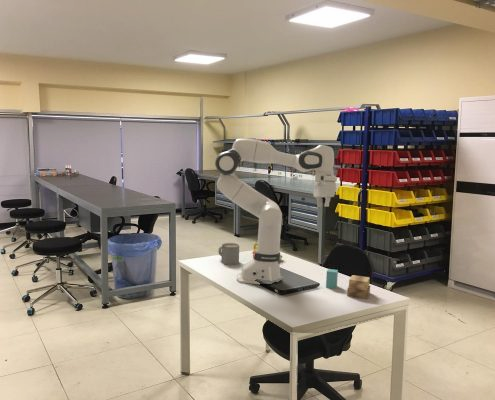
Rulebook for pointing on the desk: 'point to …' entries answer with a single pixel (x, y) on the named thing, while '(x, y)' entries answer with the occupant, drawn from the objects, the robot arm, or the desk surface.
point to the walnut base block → (358, 293)
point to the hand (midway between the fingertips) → (323, 206)
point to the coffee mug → (229, 253)
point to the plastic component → (257, 248)
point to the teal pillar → (331, 278)
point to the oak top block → (359, 282)
